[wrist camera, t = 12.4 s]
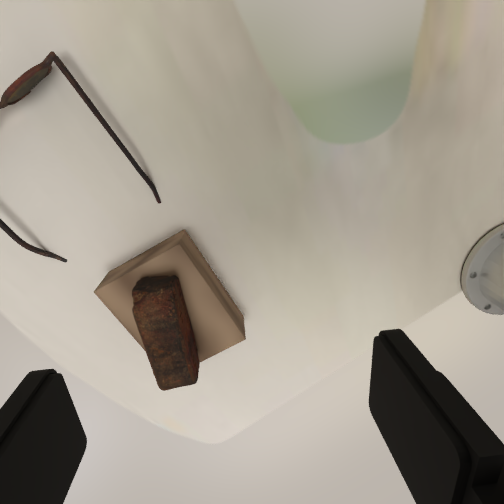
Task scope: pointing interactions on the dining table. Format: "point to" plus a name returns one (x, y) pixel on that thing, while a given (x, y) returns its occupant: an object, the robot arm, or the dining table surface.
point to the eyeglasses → (44, 68)
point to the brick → (166, 330)
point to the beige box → (193, 287)
